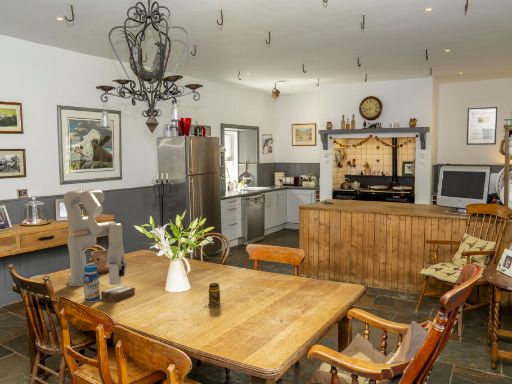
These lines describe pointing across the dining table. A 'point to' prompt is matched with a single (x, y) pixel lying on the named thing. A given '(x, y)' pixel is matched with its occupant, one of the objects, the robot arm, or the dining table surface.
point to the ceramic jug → (100, 260)
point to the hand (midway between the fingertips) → (117, 275)
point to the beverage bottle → (91, 283)
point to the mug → (115, 274)
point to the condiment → (214, 295)
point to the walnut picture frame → (117, 293)
